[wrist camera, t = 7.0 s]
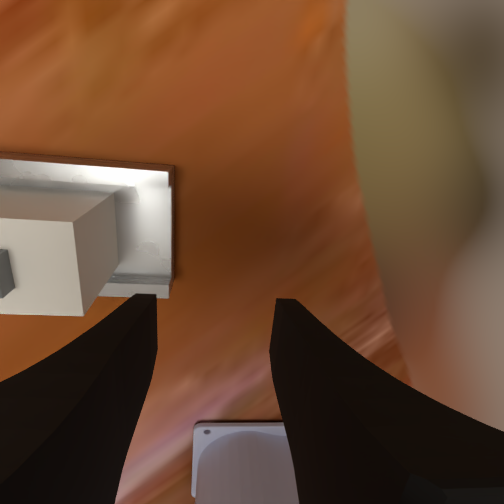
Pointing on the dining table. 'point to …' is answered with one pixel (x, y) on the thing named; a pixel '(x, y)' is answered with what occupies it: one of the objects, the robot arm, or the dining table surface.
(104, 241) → the module
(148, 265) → the rail
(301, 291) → the dining table surface
